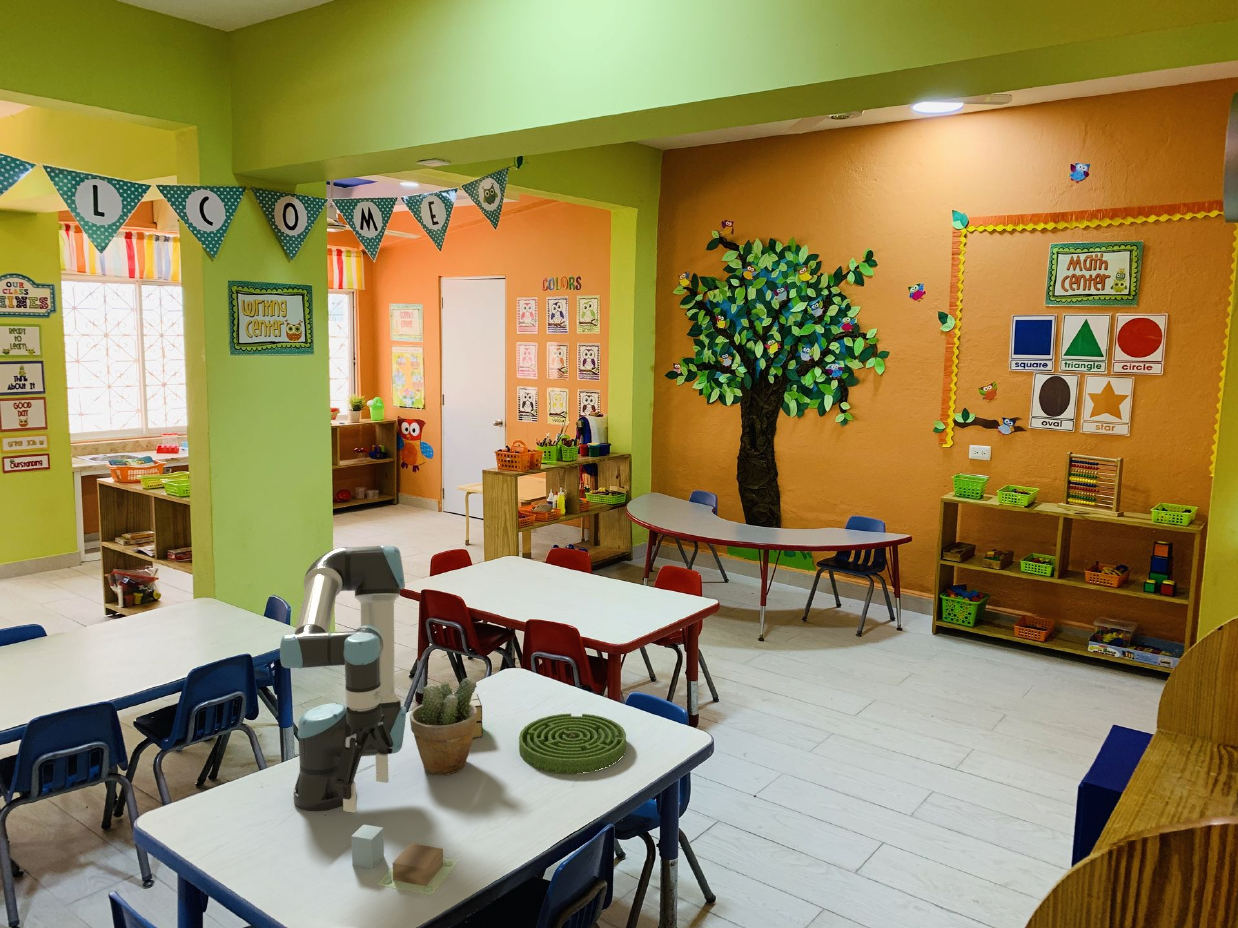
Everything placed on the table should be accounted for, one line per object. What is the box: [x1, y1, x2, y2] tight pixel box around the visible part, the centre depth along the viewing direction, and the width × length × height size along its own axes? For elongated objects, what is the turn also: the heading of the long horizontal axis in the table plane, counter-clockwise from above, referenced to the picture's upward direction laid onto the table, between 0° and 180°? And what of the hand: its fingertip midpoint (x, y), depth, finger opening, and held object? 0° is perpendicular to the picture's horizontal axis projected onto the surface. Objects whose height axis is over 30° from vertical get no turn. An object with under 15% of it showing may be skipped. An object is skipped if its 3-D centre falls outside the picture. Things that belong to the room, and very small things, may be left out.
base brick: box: [392, 842, 444, 886], centre depth 197 cm, size 8×8×4 cm
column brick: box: [351, 824, 385, 870], centre depth 201 cm, size 5×5×8 cm
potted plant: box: [409, 677, 477, 776], centre depth 247 cm, size 18×19×25 cm
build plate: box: [376, 857, 459, 896], centre depth 197 cm, size 13×13×1 cm
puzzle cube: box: [470, 692, 483, 739], centre depth 269 cm, size 10×10×10 cm
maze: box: [518, 713, 627, 775], centre depth 259 cm, size 31×31×5 cm
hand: (366, 795), depth 199 cm, fingers open, 13 cm apart
